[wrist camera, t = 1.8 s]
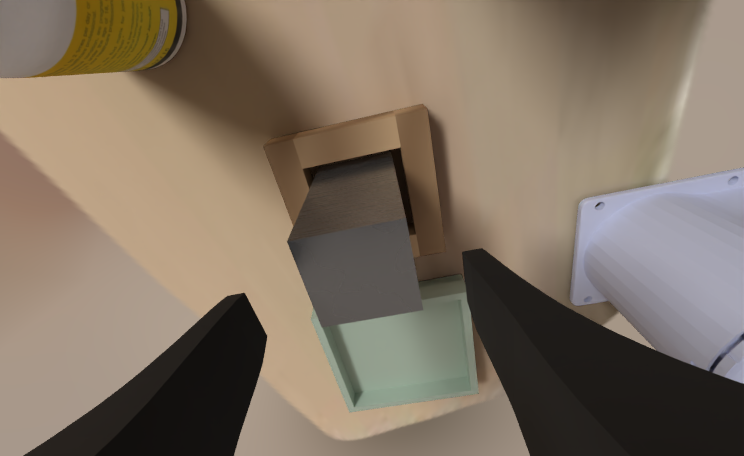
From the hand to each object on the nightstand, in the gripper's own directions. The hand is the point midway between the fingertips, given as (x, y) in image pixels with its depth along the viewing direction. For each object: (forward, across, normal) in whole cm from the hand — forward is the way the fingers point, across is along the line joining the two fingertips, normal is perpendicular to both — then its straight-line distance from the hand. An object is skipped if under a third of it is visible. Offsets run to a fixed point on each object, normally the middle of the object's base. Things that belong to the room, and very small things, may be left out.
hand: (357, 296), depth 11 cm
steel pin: (+9, 0, 0) cm, 9 cm away
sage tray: (+9, 0, +12) cm, 15 cm away
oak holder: (+9, 0, 0) cm, 9 cm away
